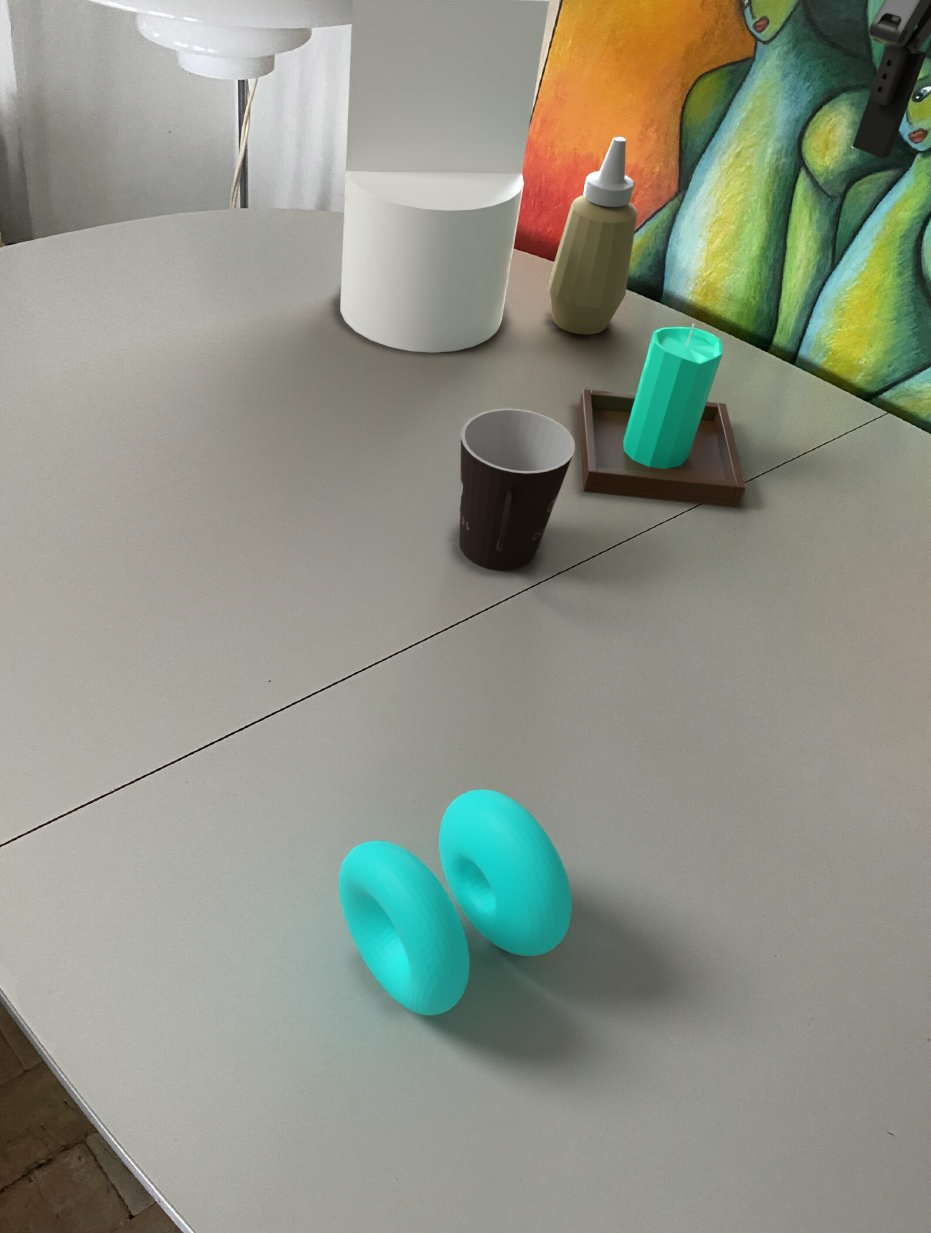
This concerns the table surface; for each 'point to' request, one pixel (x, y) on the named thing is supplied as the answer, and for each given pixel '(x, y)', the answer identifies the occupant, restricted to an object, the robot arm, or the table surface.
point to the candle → (672, 395)
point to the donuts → (482, 886)
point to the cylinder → (435, 166)
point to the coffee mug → (509, 484)
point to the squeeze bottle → (595, 249)
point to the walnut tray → (614, 472)
